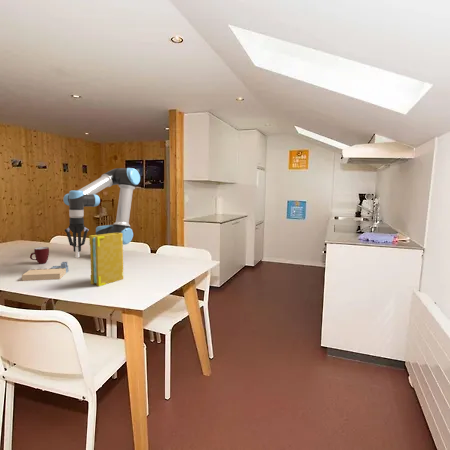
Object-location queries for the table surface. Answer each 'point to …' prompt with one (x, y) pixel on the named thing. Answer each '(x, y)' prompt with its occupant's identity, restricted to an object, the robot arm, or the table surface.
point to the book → (106, 258)
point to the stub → (63, 265)
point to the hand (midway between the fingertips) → (77, 257)
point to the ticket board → (44, 274)
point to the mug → (41, 254)
